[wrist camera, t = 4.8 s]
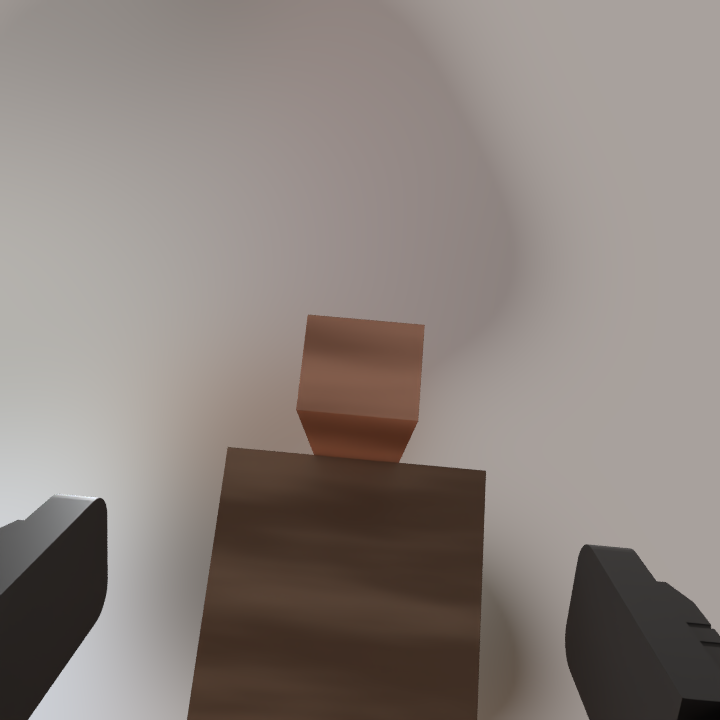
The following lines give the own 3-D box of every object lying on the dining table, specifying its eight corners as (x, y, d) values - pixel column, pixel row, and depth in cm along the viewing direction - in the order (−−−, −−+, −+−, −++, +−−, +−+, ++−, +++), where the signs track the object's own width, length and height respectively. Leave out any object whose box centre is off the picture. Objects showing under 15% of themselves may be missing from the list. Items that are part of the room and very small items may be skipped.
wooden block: (418, 420, 19) (424, 324, 20) (296, 409, 19) (308, 314, 20) (383, 495, 42) (387, 448, 43) (328, 489, 42) (332, 443, 43)
